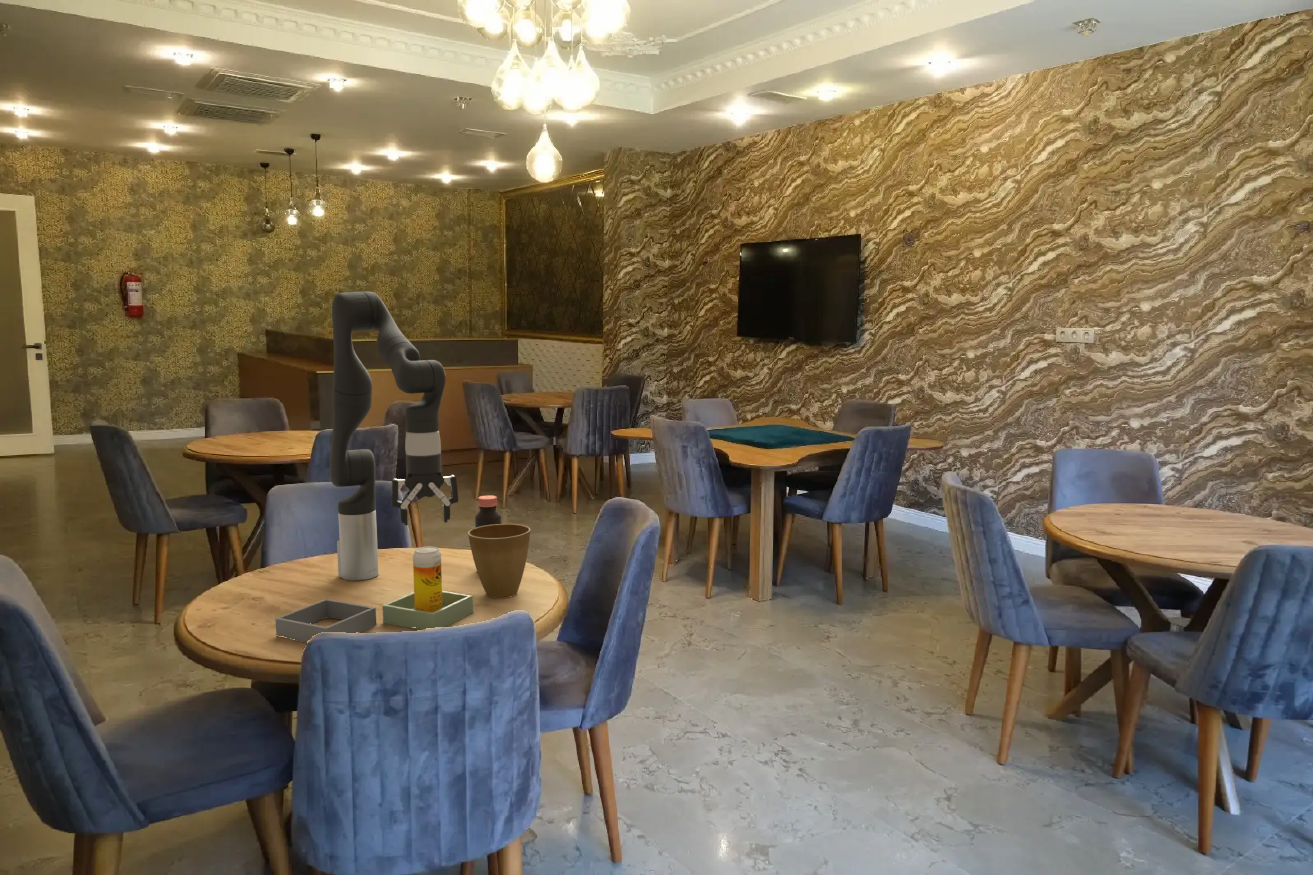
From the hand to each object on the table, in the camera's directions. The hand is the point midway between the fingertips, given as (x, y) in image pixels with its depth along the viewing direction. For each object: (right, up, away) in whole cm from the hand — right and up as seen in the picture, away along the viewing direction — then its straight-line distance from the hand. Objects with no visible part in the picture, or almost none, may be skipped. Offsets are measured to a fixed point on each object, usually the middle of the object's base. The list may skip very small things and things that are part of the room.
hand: (425, 523), depth 198 cm
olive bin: (0, -22, +3) cm, 22 cm away
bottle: (+7, -17, +39) cm, 43 cm away
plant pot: (+13, -19, +20) cm, 31 cm away
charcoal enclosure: (-20, -23, -5) cm, 31 cm away
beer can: (0, -21, +3) cm, 21 cm away
